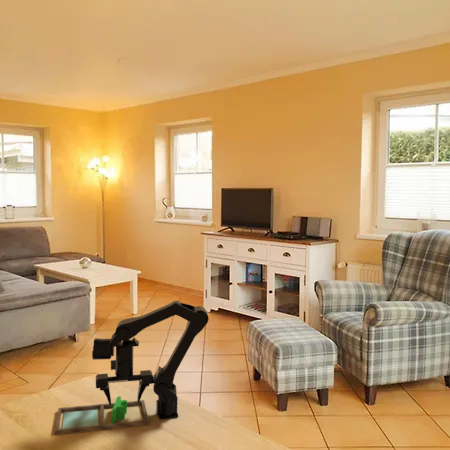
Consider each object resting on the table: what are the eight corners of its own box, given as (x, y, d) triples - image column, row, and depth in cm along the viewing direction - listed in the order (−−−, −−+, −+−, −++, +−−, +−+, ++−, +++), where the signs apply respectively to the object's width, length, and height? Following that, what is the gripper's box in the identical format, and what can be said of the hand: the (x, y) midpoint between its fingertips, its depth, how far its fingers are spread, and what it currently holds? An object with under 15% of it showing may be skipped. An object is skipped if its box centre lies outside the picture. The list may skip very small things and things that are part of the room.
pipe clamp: (123, 424, 157) (123, 411, 157) (111, 424, 157) (111, 411, 156) (128, 408, 168) (128, 395, 168) (117, 408, 168) (117, 395, 168)
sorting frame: (143, 403, 172) (143, 400, 172) (148, 424, 157) (148, 421, 157) (58, 411, 164) (58, 408, 164) (54, 434, 149) (54, 430, 149)
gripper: (149, 348, 171) (149, 391, 172) (95, 352, 166) (95, 396, 167) (153, 359, 160) (153, 404, 162) (95, 363, 155) (95, 410, 157)
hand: (124, 403), depth 162 cm, fingers open, 9 cm apart
